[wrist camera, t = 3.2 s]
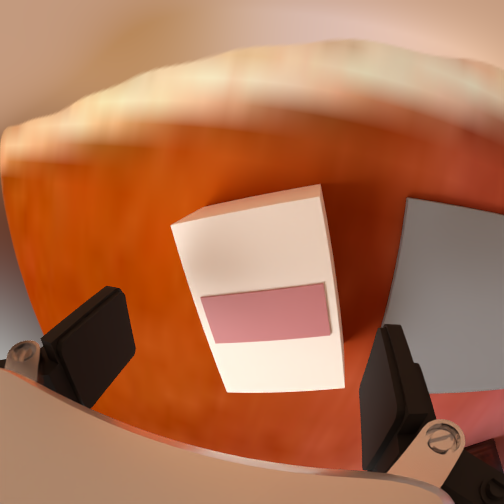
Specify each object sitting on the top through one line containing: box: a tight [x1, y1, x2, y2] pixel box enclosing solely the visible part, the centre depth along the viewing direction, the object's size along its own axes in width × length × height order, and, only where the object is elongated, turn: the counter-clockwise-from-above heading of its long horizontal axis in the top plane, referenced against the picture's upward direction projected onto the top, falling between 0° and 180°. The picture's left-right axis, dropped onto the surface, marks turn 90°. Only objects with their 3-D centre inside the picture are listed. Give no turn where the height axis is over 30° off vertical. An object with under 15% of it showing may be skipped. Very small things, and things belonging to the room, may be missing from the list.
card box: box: [171, 184, 345, 393], centre depth 14 cm, size 6×9×4 cm, turn 14°
